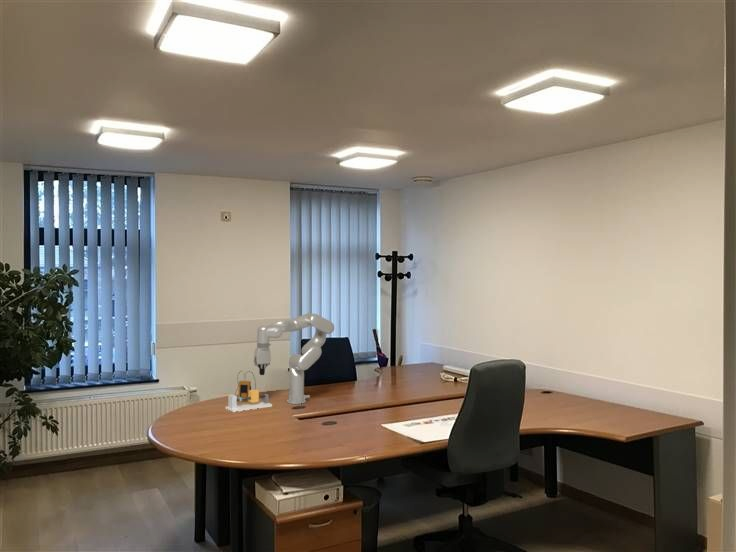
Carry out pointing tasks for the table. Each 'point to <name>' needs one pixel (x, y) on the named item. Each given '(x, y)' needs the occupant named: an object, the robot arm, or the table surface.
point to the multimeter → (244, 388)
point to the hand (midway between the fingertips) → (261, 374)
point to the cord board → (234, 407)
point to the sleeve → (253, 396)
